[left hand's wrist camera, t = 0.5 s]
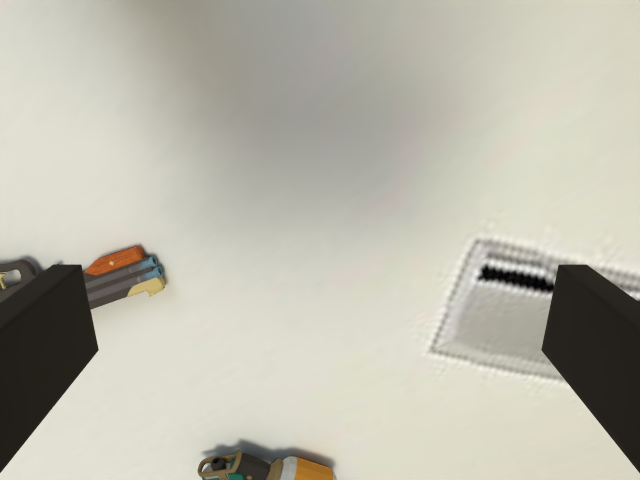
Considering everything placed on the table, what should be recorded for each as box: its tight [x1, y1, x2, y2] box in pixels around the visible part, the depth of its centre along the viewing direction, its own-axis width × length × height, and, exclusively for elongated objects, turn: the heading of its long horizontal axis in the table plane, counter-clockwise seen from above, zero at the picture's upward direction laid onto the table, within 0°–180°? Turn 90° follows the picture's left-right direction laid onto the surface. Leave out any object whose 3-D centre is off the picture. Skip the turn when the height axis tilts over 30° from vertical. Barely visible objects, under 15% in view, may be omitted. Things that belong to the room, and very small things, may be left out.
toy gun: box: [0, 246, 166, 310], centre depth 38 cm, size 3×19×10 cm
